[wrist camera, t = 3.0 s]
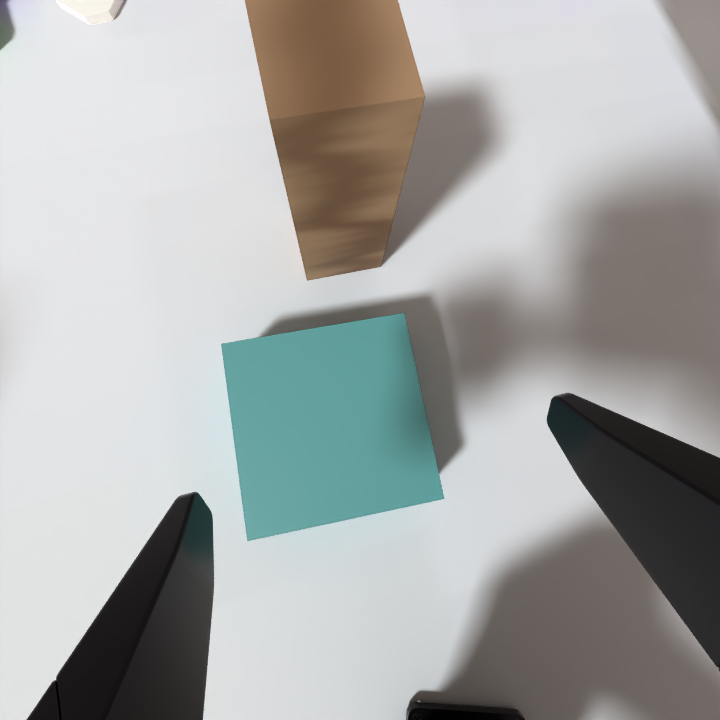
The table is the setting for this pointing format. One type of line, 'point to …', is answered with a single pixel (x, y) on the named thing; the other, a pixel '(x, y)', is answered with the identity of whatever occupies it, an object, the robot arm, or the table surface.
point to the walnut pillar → (339, 121)
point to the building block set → (92, 9)
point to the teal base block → (328, 425)
